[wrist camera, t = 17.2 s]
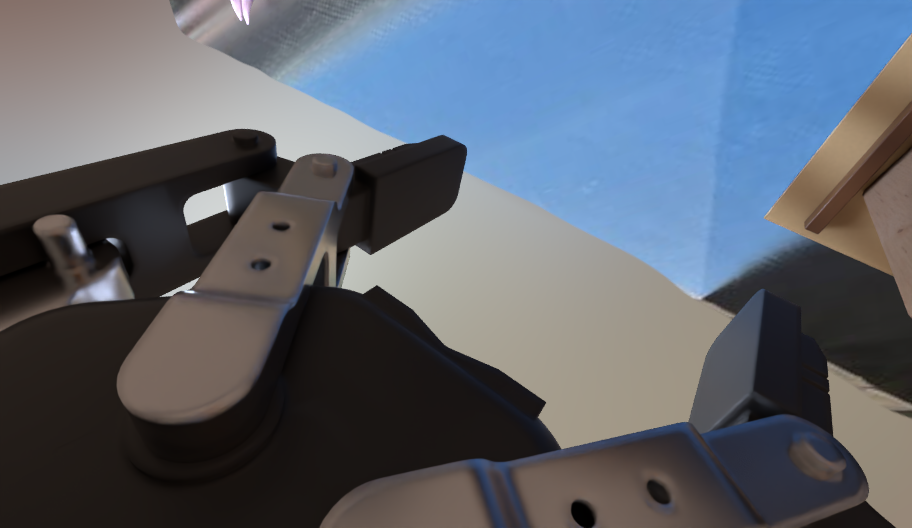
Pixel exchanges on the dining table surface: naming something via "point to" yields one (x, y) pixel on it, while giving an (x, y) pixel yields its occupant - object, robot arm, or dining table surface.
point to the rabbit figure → (242, 8)
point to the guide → (853, 168)
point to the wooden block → (895, 220)
